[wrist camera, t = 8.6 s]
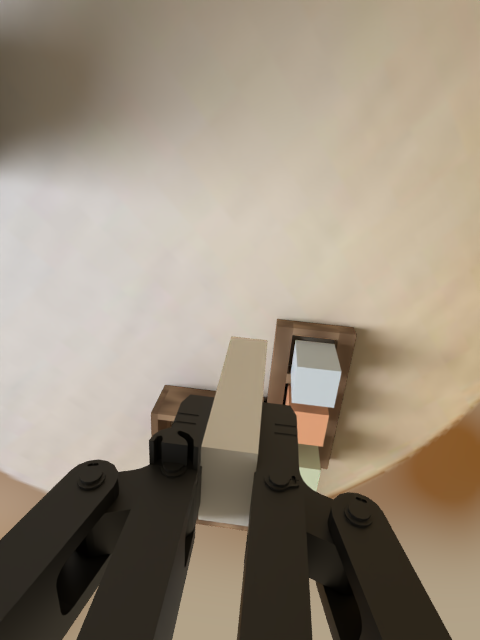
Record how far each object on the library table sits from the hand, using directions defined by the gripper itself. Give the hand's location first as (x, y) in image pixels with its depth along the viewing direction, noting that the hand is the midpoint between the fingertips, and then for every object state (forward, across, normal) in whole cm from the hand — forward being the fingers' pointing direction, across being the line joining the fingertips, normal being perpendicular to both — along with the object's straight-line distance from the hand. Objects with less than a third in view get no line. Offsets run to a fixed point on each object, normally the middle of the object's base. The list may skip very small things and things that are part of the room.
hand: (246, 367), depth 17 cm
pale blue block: (+26, +7, -14) cm, 30 cm away
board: (+28, +6, -20) cm, 35 cm away
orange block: (+28, +7, -20) cm, 35 cm away
